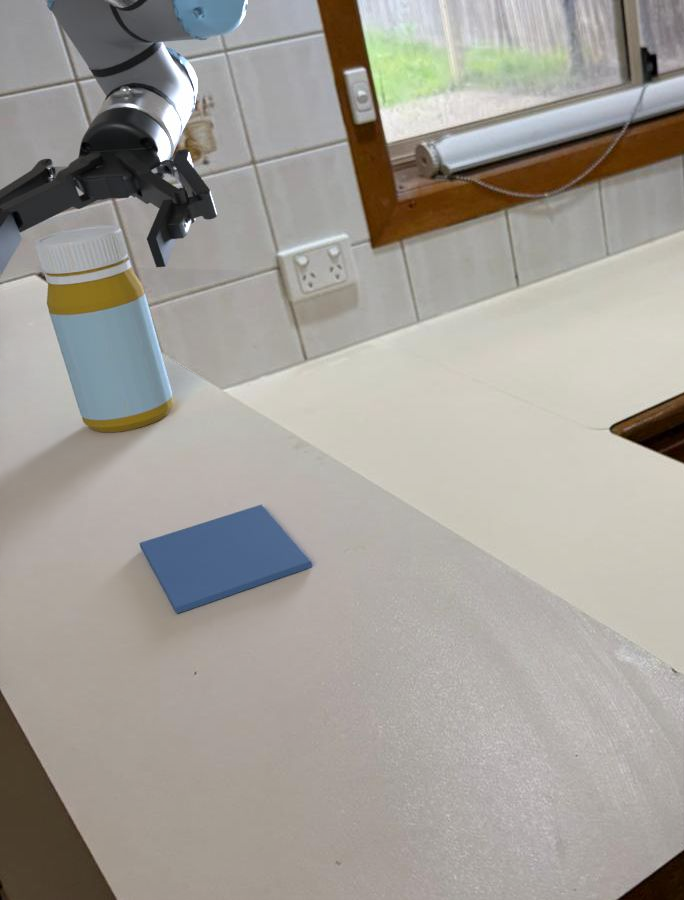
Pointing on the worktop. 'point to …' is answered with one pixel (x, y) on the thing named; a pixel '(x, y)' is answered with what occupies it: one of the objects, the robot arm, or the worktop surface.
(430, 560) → the worktop surface
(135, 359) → the bottle
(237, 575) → the blue mat
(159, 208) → the robot arm
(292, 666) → the worktop surface
